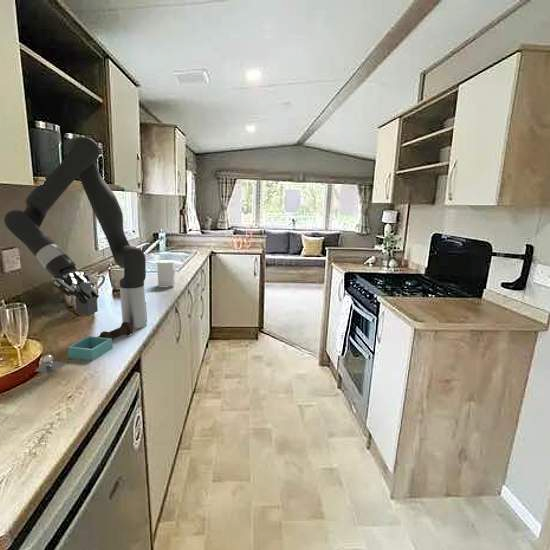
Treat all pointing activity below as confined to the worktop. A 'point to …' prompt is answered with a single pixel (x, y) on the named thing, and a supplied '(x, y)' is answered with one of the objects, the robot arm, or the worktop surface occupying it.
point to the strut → (91, 304)
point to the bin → (82, 351)
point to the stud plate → (49, 365)
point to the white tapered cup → (166, 273)
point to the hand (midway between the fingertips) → (91, 299)
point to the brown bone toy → (118, 331)
